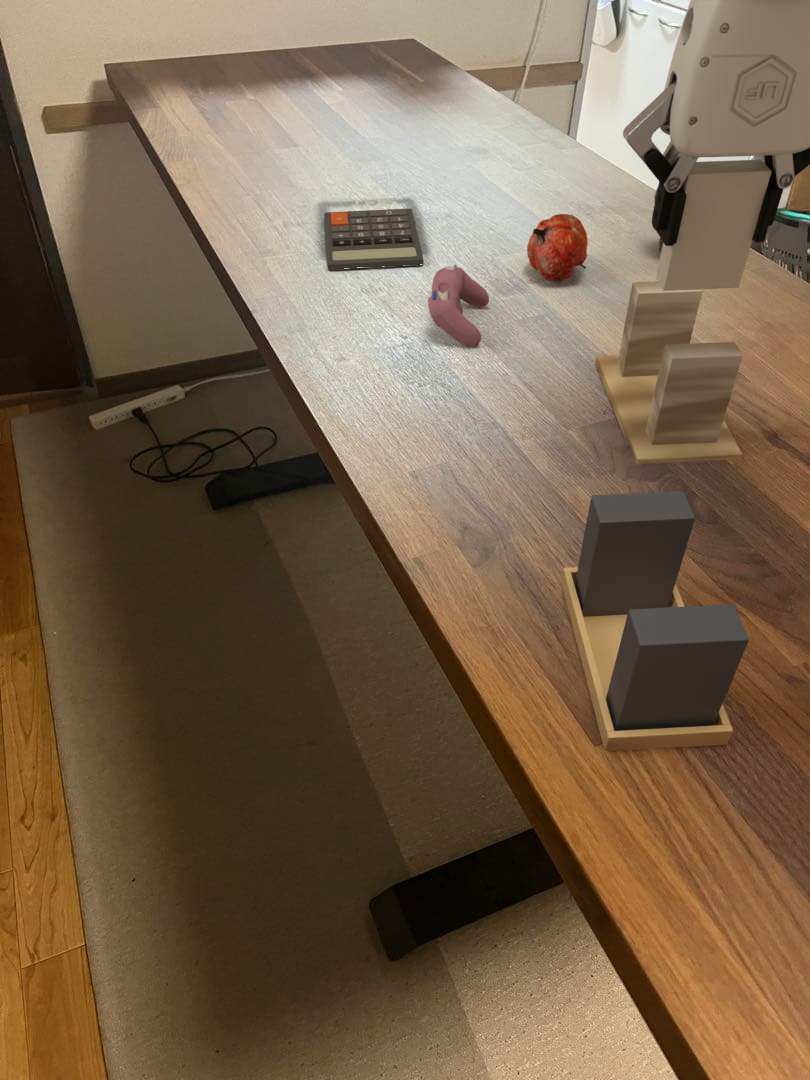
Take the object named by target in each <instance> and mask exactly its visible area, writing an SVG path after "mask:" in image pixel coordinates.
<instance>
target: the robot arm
mask: <svg viewBox="0 0 810 1080" xmlns="http://www.w3.org/2000/svg"><path fill="white" fill-rule="evenodd" d="M658 130H661V132H663V133H664V134H665V135H668V136H669V139H670V141H669V143H668V145H667V146H666V148H665V150H664V152H663V153H662V151H660V149H659V148H658V146H657V145H655V143H654V142H653V139H652V138H653V135H654V134H655V133H656V132H657V131H658ZM622 136H623V138H624V140H625V141H626V143H627V144H628V145H629V146H630V148H631V149H632V150H633V151H634V153H636V155H637V157H639V158H640V160H642V162H643V164H645V165H646V167H647V168H648V170H649V171H650V172H651V173H652V175H653V176H654V177H655V178H656V179H657V181H658V186H657V188H658V190H657V189H656V190H657V195H656V200H655V199H654V205H653V211H652V216H651V226H652V228H653V229H654V231H656V233H657V235H658V237H659V239H660V238H661V239H662V241H663V243H664V244H665V246H673V245H674V244H676V242H677V238H678V234H679V229H680V225H681V220H682V216H683V211H684V207H685V202H686V197H687V196H686V193H685V192H684V191H683V190H682V187H683V183H684V181H685V179H686V178H687V176H688V174H689V173H690V171H691V169H692V168H693V166H694V164H695V163H696V162H698V159H699V158H731V157H760V156H761V161H762V162H763V163H764V164H765V165H766V166H767V167H768V168H769V169H770V170H771V175H770V179H769V182H768V186H767V189H766V193H765V196H764V200H763V203H762V207H761V211H760V214H759V218H758V221H757V225H756V228H755V232H754V235H753V239H752V242H753V241H754V243H764V242H765V240H766V237H767V233H768V230H769V227H771V226H772V225H774V222H775V220H776V215H777V212H778V208H779V206H780V203H781V200H782V199H781V198H782V195H783V192H784V190H785V189H788V188H790V187H791V186H792V185H793V183H794V182H795V177H796V176H797V175H799V174H800V173H802V171H805V169H806V168H807V167H809V166H810V0H690V1H689V4H688V7H687V9H686V12H685V14H684V17H683V20H682V24H681V27H680V31H679V34H678V37H677V40H676V44H675V46H674V49H673V54H672V58H671V62H670V65H669V69H668V73H667V77H666V81H665V85H664V90H663V91H662V92H661V93H659V95H657V96H656V97H655V99H653V100H652V101H651V103H649V105H647V106H646V107H645V108H644V109H643V110H642V111H641V112H640V113H639V114H638V115H636V117H635V118H633V120H631V121H630V122H629V123H628V124H627V125H626V126H625V127H624V129H623V131H622Z"/></svg>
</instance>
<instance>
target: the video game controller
mask: <svg viewBox="0 0 810 1080" xmlns="http://www.w3.org/2000/svg"><path fill="white" fill-rule="evenodd" d="M431 285H432V286H431V296H429V297H428V299H427V306H428V311H429V314H430V316H431V319H432V321H433V323H434V324H435V325H436V327H437V328H440V329H441V330H442V331H444V332H445V333H446V334H447V335H448V336H449V337H450V338H452V339H454V340H455V341H456V342H458V343H460V344H462V345H464V346H468V347H476V346H478V345H479V344H480V343H481V341H482V334H481V332H480V330H479V329H478V327H477V326H476V325H475V324H473V322H471V321H470V320H469V319H468V318H466V317H465V315H464V307H463V304H462V302H464V303H465V304H469V305H470V306H472V307H477V308H485V307H487V306H488V304H489V303H490V296H489V294H488V292H487V290H486V289H485V288H484V287H483V286H482V285H481V284H480V283H478V282H477V281H475V280H474V279H473V278H471V277H470V276H469V274H468V273H467V272H466V271H465V270H464V269H463V268H462V267H458V265H457V264H454V265H453V266H450V265H447V266H444V267H443V268H441V269H438V270H437V271H436V273H435V274H434V276H433V279H432V283H431Z"/></svg>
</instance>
